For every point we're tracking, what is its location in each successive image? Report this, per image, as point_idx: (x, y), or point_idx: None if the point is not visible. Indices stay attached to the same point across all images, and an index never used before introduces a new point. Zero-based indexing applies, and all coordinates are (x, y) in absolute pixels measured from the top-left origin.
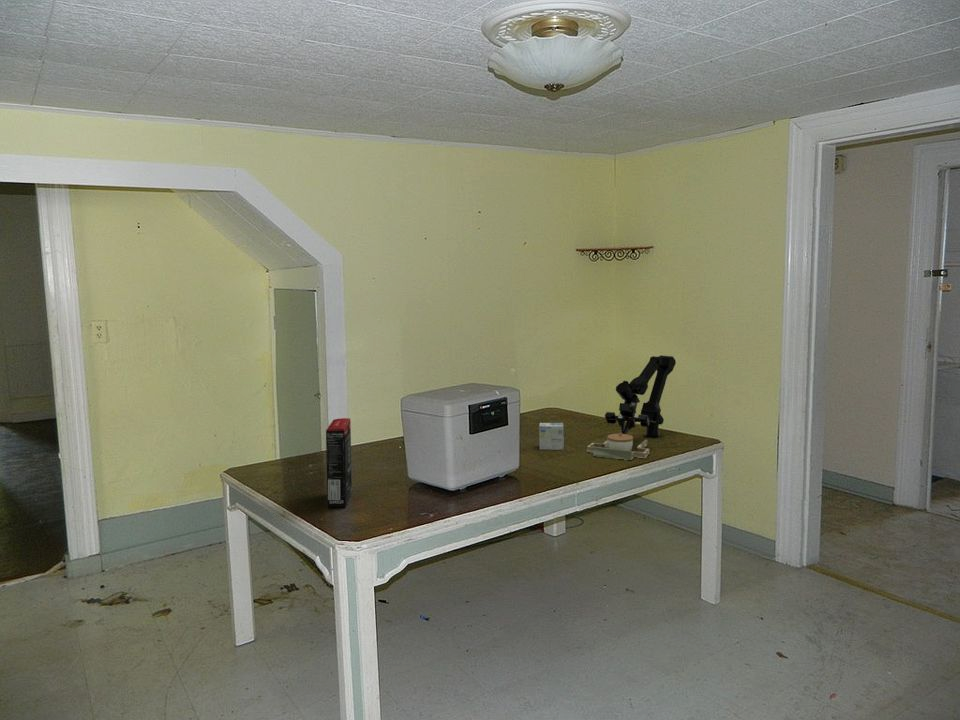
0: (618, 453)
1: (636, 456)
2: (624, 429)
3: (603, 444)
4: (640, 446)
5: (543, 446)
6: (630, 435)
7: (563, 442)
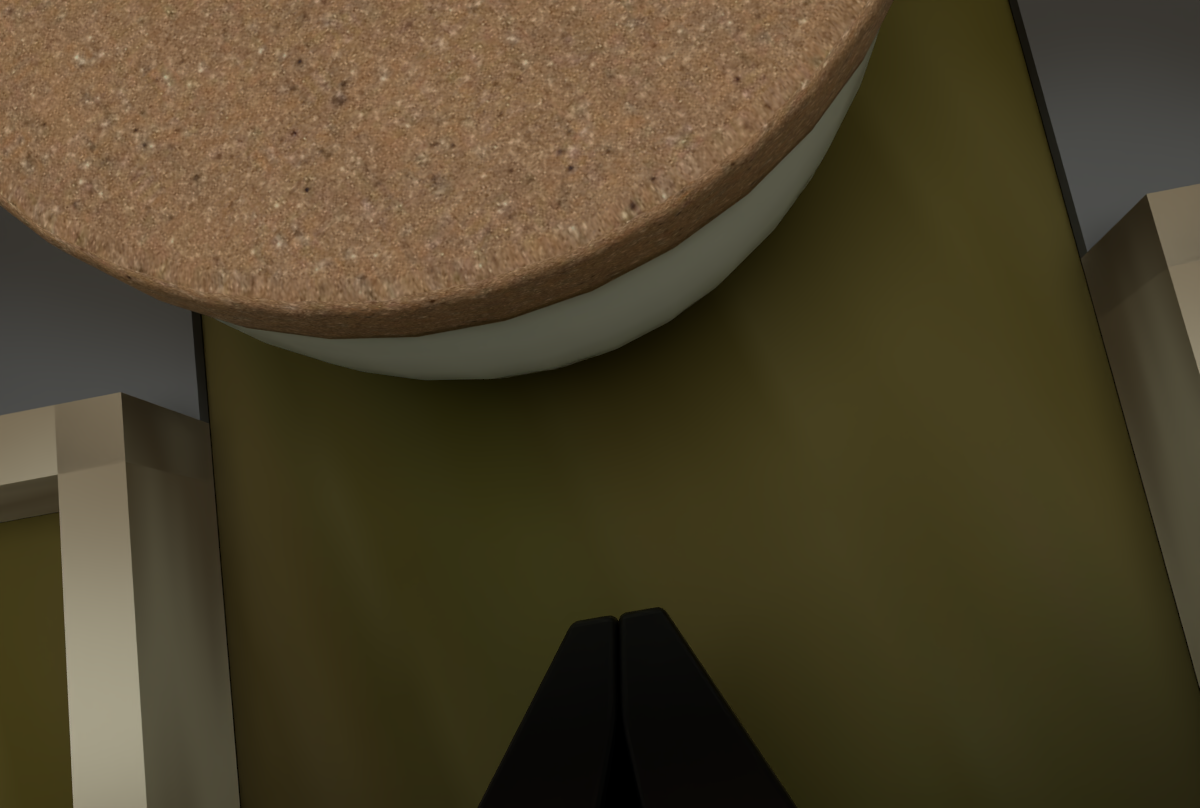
0: None
1: None
2: None
3: (1166, 192)
4: (71, 656)
5: None
6: (35, 183)
7: None
